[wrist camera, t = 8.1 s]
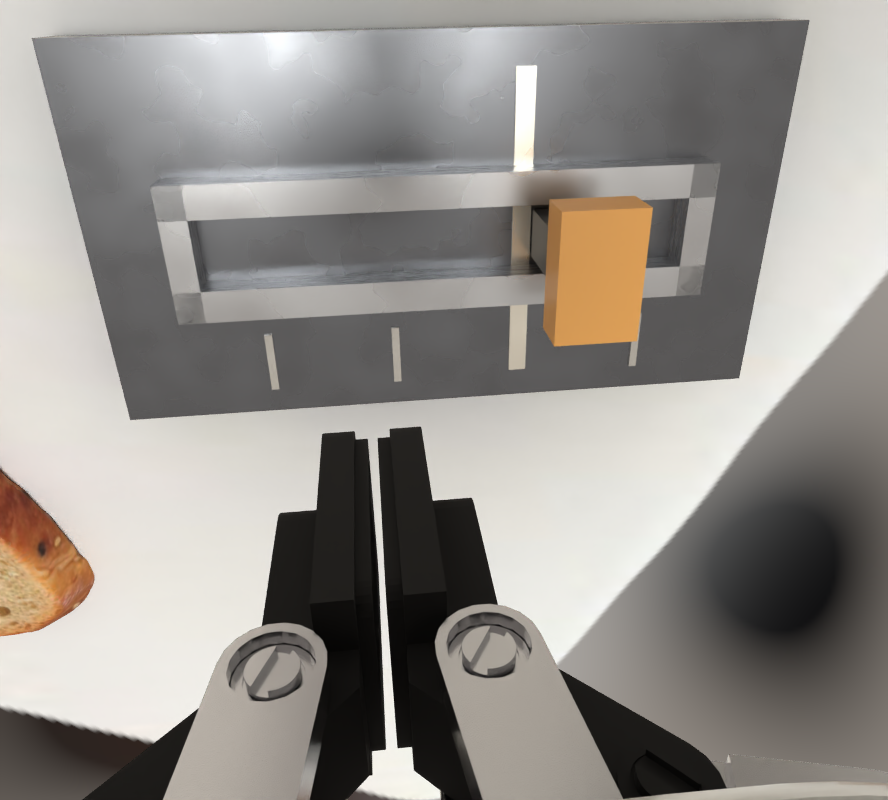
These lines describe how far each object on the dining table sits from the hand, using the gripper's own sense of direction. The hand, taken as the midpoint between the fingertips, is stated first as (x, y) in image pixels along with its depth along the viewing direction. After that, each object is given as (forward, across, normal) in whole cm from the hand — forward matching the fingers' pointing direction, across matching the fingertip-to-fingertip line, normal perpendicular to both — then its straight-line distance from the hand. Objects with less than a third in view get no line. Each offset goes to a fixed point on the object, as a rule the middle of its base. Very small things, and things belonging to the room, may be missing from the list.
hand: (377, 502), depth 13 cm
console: (+19, -3, 0) cm, 19 cm away
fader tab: (+17, -7, 0) cm, 18 cm away
